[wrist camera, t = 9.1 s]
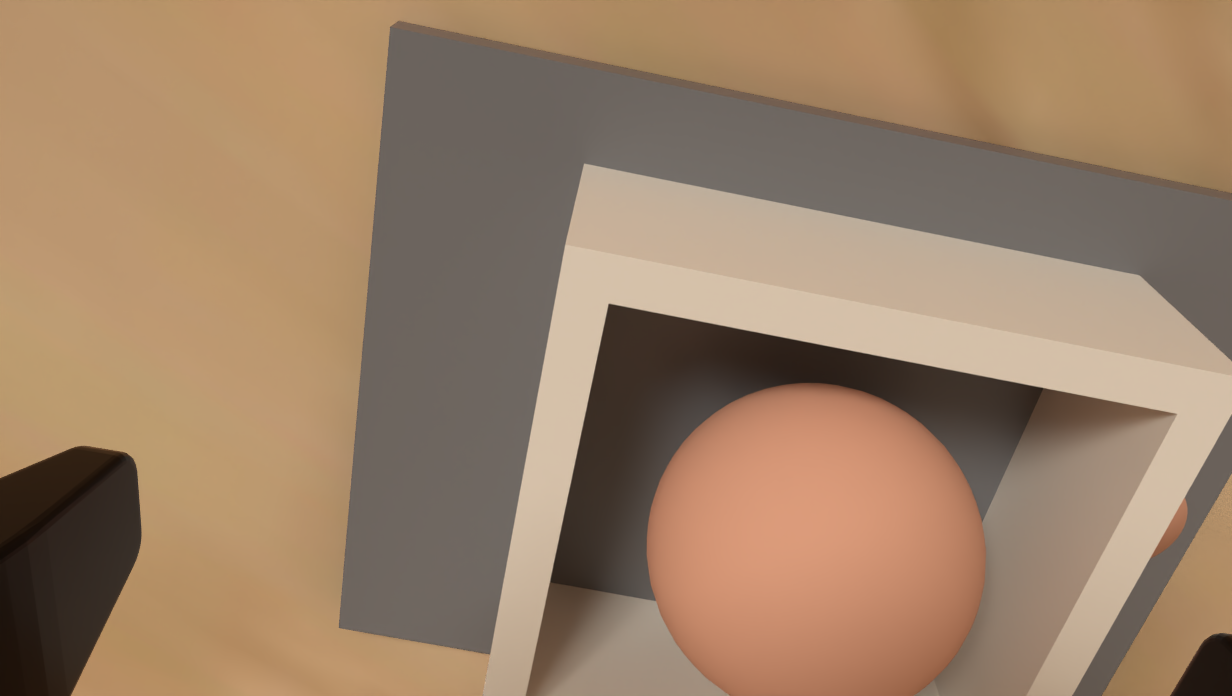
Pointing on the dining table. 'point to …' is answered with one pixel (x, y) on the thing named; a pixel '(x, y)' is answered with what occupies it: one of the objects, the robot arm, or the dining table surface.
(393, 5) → the dining table surface
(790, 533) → the terracotta ball
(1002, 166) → the tray on grey plate
